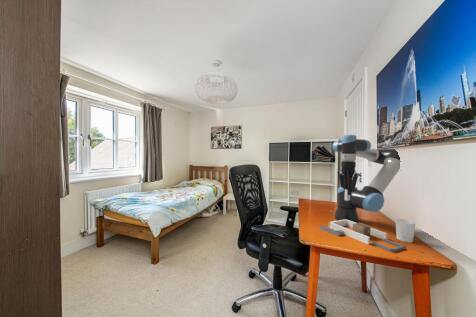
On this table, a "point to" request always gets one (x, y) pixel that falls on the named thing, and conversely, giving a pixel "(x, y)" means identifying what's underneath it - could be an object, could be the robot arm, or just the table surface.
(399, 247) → the grey bracket
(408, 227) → the white cup
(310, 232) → the table surface
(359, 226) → the walnut cube
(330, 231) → the crook tool
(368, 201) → the robot arm
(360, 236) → the cubby
